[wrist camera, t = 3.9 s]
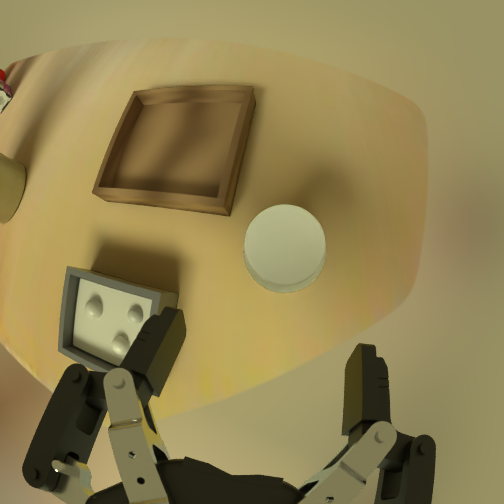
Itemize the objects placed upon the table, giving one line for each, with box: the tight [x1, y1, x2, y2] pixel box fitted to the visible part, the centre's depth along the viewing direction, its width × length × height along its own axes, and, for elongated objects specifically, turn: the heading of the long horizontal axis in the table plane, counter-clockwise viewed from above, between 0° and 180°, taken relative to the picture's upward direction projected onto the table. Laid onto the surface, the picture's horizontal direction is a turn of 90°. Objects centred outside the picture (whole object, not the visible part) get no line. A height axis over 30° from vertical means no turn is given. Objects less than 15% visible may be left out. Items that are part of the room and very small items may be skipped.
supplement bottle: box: [244, 204, 326, 293], centre depth 17 cm, size 5×5×8 cm
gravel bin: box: [58, 266, 179, 372], centre depth 20 cm, size 10×8×4 cm
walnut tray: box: [92, 86, 256, 216], centre depth 23 cm, size 13×12×3 cm
